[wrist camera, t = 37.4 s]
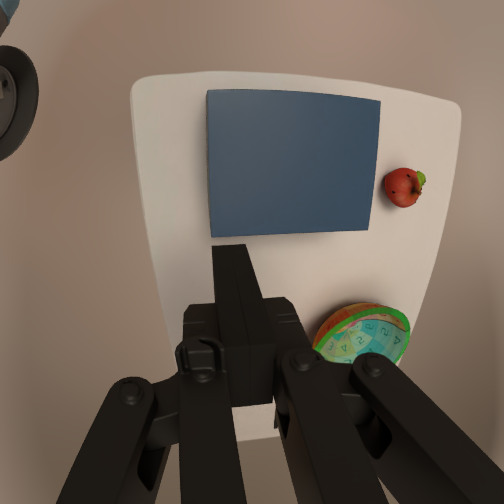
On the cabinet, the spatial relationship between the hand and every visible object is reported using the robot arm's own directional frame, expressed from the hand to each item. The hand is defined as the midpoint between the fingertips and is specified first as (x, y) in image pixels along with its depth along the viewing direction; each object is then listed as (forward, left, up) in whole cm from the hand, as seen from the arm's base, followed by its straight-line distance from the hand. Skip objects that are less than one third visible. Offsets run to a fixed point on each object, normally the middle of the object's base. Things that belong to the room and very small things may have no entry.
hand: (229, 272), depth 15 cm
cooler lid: (+8, +5, -22) cm, 24 cm away
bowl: (+39, -22, -37) cm, 58 cm away
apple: (+31, +9, -37) cm, 49 cm away
